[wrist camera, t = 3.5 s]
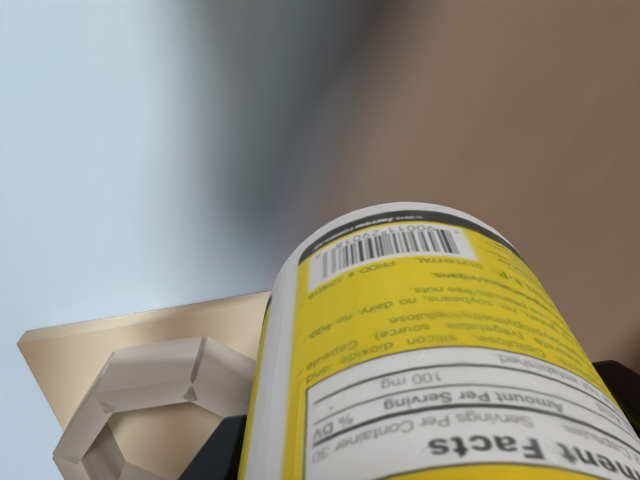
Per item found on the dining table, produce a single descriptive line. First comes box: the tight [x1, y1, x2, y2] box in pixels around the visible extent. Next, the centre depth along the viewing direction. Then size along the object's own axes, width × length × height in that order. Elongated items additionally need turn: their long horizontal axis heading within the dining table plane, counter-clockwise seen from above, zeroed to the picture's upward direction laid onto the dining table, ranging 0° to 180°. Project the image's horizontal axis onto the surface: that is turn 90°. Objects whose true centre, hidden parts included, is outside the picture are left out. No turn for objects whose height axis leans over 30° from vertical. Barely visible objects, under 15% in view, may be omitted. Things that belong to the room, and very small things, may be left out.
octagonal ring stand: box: [17, 291, 271, 480], centre depth 24 cm, size 11×11×3 cm
